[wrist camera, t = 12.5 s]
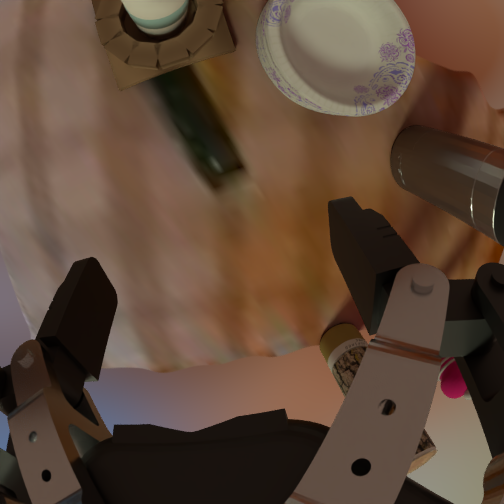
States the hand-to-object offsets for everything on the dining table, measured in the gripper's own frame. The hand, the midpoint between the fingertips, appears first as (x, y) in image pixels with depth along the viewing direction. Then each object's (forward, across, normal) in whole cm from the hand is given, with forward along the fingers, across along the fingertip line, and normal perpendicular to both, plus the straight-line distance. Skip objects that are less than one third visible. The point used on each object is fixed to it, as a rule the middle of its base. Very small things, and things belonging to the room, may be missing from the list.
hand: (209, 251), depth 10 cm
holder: (+25, +3, -12) cm, 28 cm away
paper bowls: (+27, -12, -5) cm, 30 cm away
